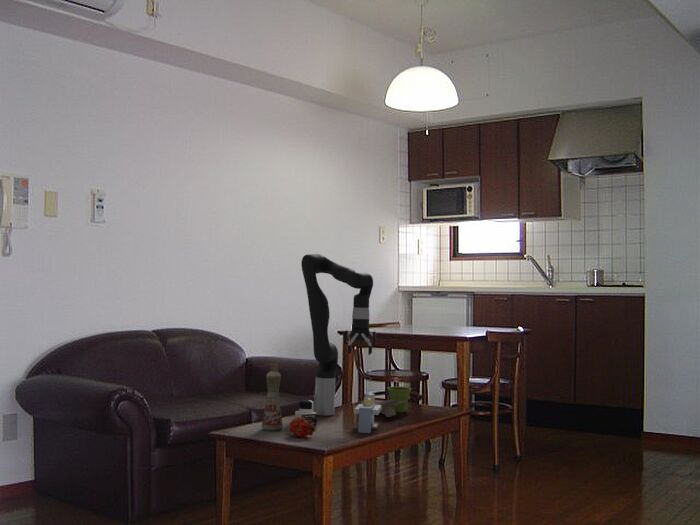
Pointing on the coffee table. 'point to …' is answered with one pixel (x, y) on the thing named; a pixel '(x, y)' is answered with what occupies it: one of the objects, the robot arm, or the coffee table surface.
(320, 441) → the coffee table surface
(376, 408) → the grey piece
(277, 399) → the bottle
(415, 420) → the coffee table surface
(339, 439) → the coffee table surface
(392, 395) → the plant pot
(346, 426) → the coffee table surface
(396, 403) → the white slotted block
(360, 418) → the bracket
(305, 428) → the dragon fruit
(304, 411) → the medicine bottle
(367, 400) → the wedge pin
